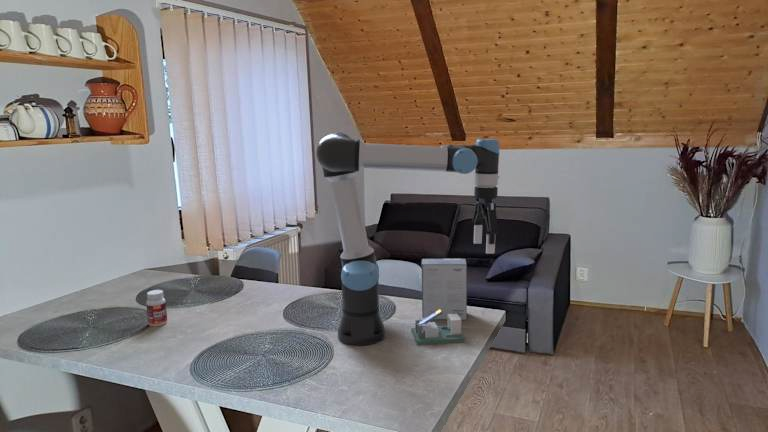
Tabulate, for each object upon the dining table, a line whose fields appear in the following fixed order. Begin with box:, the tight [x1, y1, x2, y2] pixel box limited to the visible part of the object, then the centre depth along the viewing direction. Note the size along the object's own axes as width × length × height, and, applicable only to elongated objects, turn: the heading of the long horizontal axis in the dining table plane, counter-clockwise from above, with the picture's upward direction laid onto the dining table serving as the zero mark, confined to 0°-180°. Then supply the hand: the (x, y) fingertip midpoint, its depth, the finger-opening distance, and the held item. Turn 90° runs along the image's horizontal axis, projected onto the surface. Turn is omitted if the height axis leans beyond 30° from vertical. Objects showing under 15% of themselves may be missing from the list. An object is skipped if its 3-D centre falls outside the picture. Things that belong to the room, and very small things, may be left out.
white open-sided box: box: [446, 314, 462, 334], centre depth 174 cm, size 3×5×5 cm, turn 6°
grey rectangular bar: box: [416, 309, 443, 327], centre depth 173 cm, size 9×3×1 cm, turn 95°
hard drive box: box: [421, 258, 468, 321], centre depth 190 cm, size 16×8×20 cm, turn 84°
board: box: [411, 317, 465, 346], centre depth 174 cm, size 15×11×5 cm
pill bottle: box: [145, 289, 168, 327], centre depth 188 cm, size 6×6×11 cm
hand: (483, 248), depth 185 cm, fingers open, 13 cm apart
